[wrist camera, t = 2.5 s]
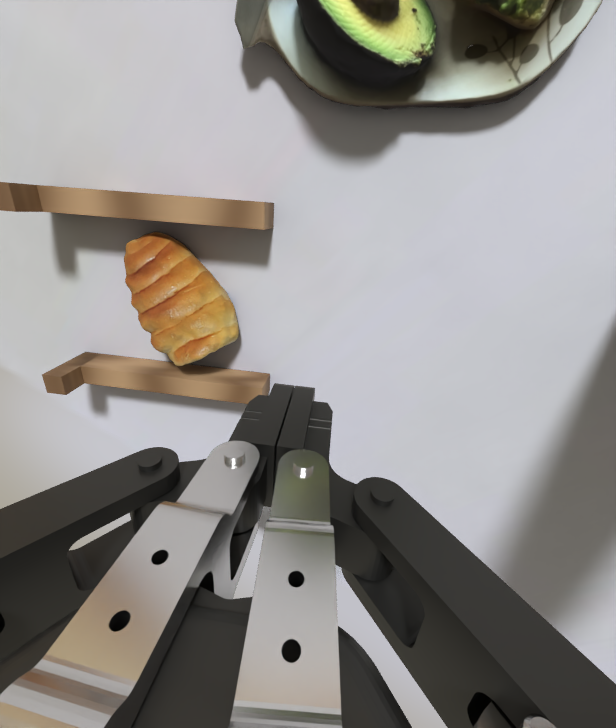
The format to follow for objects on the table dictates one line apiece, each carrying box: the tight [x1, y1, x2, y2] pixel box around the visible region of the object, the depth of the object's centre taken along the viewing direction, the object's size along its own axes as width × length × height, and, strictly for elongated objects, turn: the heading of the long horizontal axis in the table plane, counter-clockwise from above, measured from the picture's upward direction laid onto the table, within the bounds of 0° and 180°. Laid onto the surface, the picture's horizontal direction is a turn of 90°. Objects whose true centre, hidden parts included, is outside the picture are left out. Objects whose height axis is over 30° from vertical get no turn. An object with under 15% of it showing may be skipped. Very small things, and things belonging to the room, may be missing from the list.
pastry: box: [124, 232, 239, 366], centre depth 24 cm, size 9×7×4 cm
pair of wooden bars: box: [0, 182, 274, 404], centre depth 23 cm, size 16×14×4 cm
